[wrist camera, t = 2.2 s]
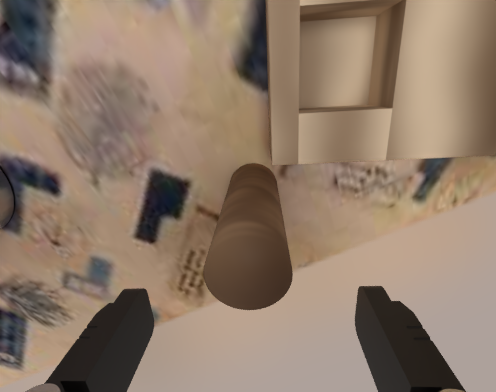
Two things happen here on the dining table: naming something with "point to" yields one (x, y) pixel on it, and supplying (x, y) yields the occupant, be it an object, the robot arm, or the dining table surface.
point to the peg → (249, 243)
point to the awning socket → (380, 79)
